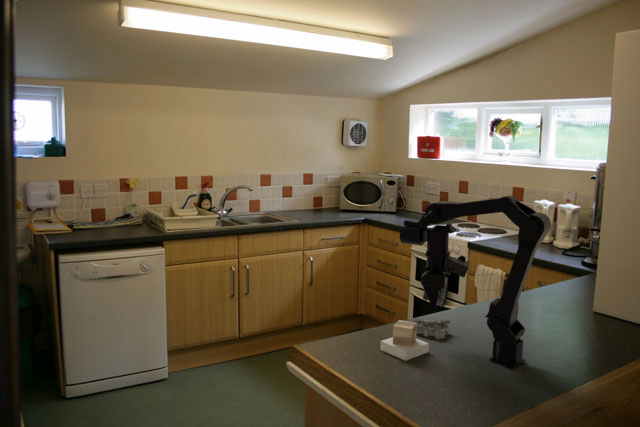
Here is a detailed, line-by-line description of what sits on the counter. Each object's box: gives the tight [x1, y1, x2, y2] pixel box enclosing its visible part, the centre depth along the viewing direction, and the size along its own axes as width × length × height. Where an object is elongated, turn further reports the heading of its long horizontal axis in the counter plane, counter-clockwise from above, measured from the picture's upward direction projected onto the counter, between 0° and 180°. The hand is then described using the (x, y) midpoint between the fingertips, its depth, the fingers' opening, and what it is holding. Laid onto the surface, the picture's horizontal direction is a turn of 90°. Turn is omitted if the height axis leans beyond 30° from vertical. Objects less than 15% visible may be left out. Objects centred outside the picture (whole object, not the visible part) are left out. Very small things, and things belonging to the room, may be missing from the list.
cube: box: [392, 319, 418, 347], centre depth 143 cm, size 5×5×5 cm
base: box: [380, 336, 429, 361], centre depth 144 cm, size 9×9×2 cm
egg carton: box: [411, 318, 451, 340], centre depth 158 cm, size 11×8×4 cm
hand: (436, 303), depth 148 cm, fingers open, 9 cm apart
